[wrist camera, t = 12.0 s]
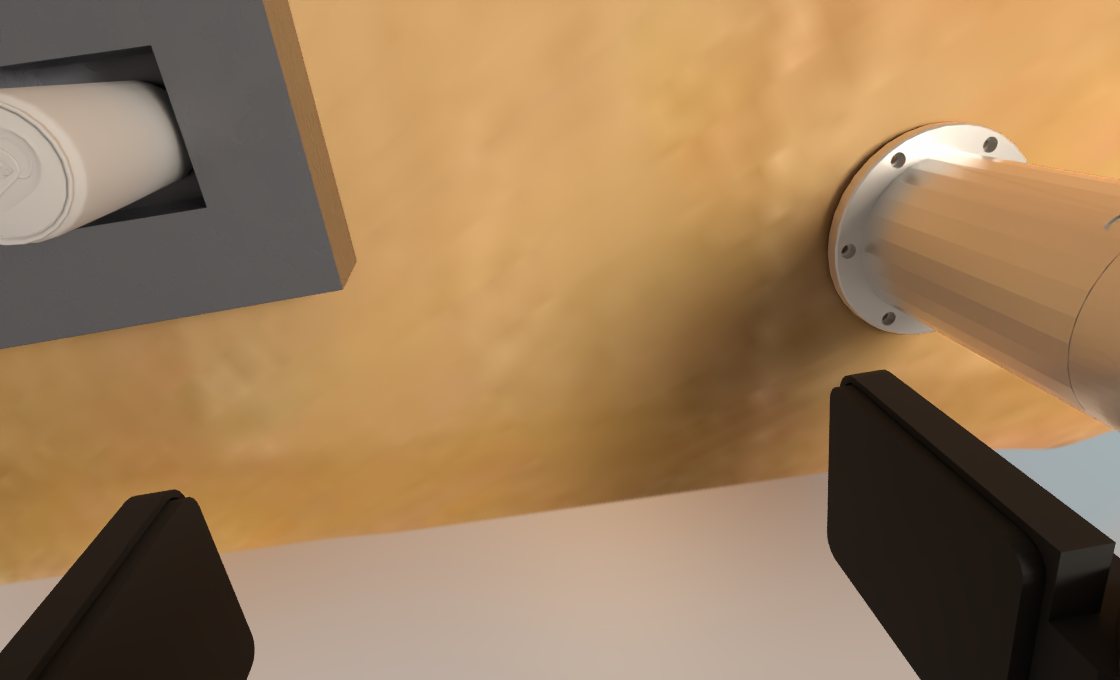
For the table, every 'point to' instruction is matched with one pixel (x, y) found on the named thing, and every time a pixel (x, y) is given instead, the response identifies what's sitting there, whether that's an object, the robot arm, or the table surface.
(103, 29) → the socket block
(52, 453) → the table surface
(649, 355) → the table surface
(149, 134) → the beverage can
